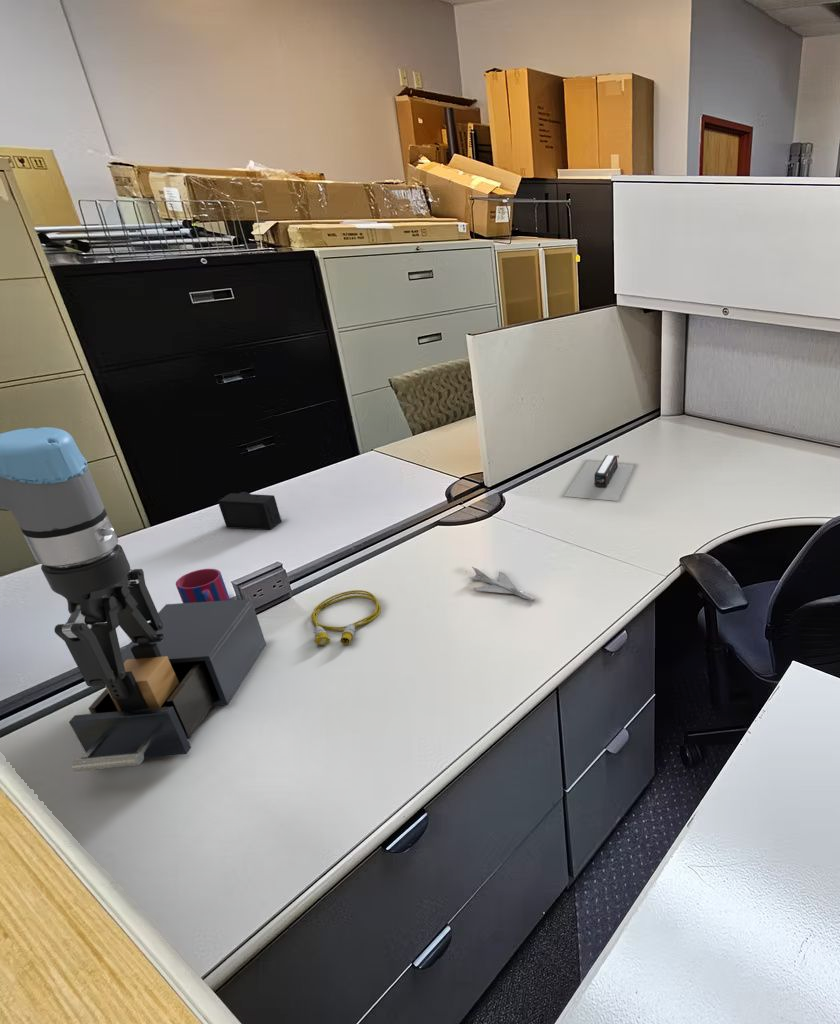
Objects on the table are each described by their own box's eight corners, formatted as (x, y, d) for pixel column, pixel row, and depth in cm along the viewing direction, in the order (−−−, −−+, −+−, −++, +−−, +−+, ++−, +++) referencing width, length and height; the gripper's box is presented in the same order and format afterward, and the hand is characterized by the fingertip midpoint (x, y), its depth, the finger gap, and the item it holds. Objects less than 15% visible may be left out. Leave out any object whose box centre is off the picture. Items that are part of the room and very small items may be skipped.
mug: (228, 594, 120) (218, 564, 117) (236, 619, 113) (225, 589, 110) (186, 606, 116) (174, 575, 113) (190, 633, 109) (178, 601, 106)
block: (118, 712, 84) (104, 684, 82) (140, 686, 88) (126, 659, 86) (160, 708, 85) (146, 680, 82) (179, 682, 89) (167, 655, 87)
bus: (634, 465, 186) (634, 452, 184) (617, 500, 164) (617, 486, 162) (587, 461, 187) (586, 448, 185) (564, 496, 165) (563, 481, 163)
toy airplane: (521, 612, 119) (520, 602, 118) (445, 578, 128) (444, 569, 127) (548, 593, 125) (547, 583, 124) (473, 562, 134) (472, 553, 133)
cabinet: (227, 704, 95) (208, 656, 90) (134, 713, 93) (110, 663, 88) (266, 644, 108) (251, 598, 103) (185, 650, 105) (166, 604, 101)
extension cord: (281, 641, 108) (278, 632, 107) (339, 591, 122) (337, 583, 121) (345, 651, 107) (342, 642, 106) (396, 599, 121) (395, 591, 120)
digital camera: (285, 519, 147) (277, 492, 144) (271, 530, 142) (263, 502, 139) (242, 517, 147) (233, 490, 144) (226, 527, 142) (217, 500, 139)
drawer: (167, 784, 81) (146, 742, 77) (66, 795, 79) (40, 752, 75) (231, 686, 97) (216, 647, 94) (149, 693, 95) (130, 653, 91)
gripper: (65, 593, 69) (140, 743, 79) (156, 518, 84) (209, 651, 95) (-14, 597, 67) (73, 749, 78) (93, 521, 83) (153, 656, 93)
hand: (147, 695), depth 86 cm, fingers closed on block, 5 cm apart
